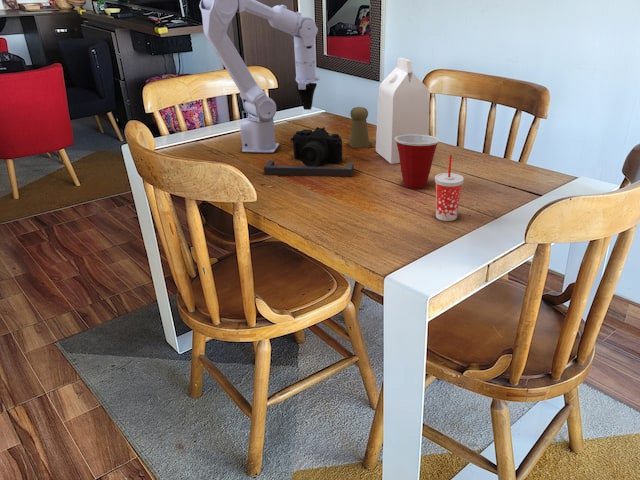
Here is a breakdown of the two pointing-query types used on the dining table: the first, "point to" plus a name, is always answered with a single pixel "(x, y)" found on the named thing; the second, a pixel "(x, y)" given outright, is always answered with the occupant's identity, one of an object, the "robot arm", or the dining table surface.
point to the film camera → (317, 147)
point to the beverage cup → (448, 194)
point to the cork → (359, 128)
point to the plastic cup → (416, 158)
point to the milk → (400, 109)
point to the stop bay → (308, 170)
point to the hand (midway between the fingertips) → (307, 109)
